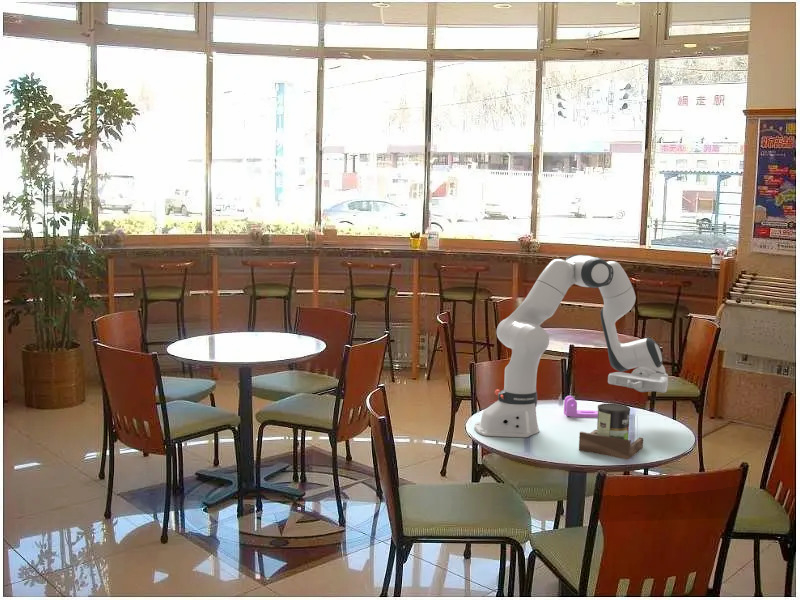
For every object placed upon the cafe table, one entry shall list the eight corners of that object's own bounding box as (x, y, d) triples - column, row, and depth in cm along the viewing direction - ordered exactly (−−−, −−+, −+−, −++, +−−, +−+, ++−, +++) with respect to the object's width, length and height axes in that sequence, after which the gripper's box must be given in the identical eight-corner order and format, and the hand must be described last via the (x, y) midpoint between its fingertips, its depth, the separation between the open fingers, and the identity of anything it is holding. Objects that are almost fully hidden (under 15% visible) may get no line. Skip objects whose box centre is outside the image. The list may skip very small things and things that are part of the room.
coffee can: (631, 447, 274) (633, 405, 273) (623, 455, 266) (625, 412, 264) (600, 442, 279) (602, 401, 278) (591, 450, 271) (593, 408, 269)
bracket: (566, 417, 311) (567, 399, 310) (563, 413, 317) (564, 395, 316) (601, 418, 311) (602, 399, 310) (597, 414, 317) (598, 396, 316)
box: (594, 439, 283) (595, 422, 282) (642, 448, 274) (643, 430, 273) (578, 450, 270) (579, 432, 270) (628, 459, 261) (629, 441, 261)
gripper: (615, 366, 302) (602, 372, 290) (672, 374, 291) (661, 381, 279) (614, 383, 302) (601, 389, 291) (671, 392, 291) (659, 399, 280)
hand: (630, 385), depth 285 cm, fingers closed
